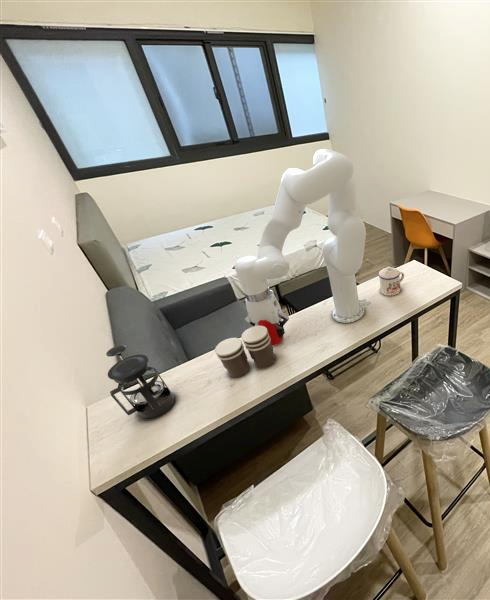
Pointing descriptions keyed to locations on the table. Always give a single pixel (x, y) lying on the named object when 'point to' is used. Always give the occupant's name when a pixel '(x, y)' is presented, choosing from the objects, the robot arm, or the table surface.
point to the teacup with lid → (390, 281)
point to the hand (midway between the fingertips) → (272, 335)
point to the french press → (146, 392)
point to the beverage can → (271, 332)
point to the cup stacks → (235, 355)
